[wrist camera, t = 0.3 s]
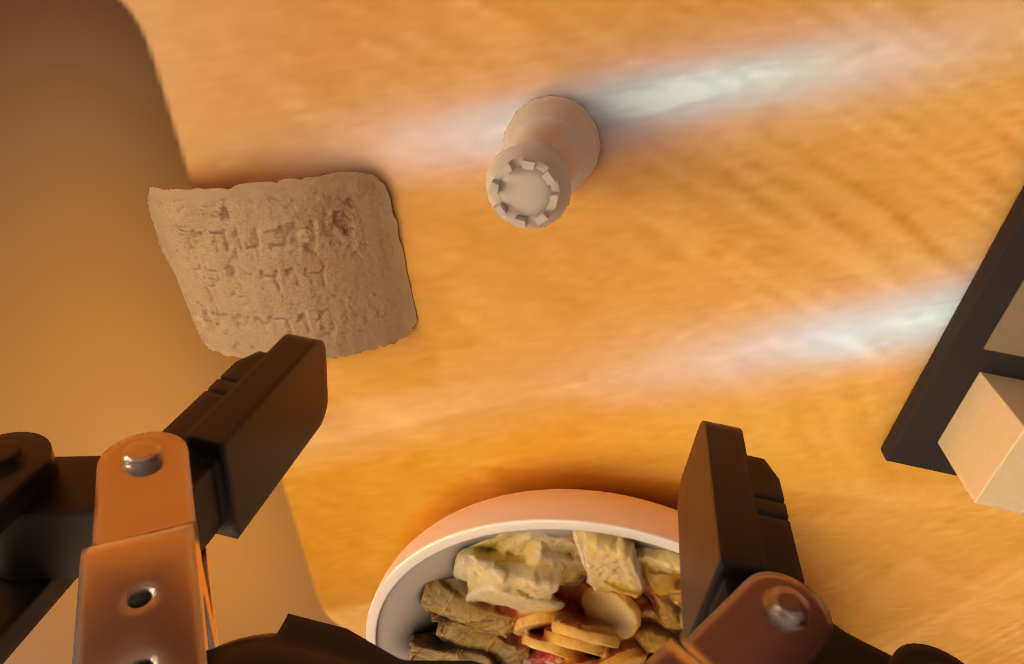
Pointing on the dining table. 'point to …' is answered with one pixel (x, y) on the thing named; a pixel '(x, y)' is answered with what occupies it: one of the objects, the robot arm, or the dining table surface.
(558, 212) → the rook chess piece
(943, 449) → the tile
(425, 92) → the dining table surface
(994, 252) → the word mat
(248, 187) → the clay tablet
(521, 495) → the bowl
